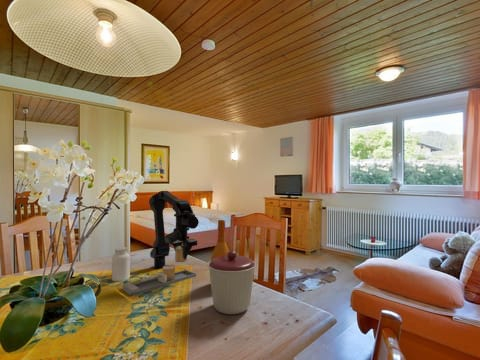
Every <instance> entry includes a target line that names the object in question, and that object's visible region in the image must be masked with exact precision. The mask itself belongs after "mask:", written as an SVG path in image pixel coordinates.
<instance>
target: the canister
mask: <svg viewBox="0 0 480 360" xmlns="http://www.w3.org/2000/svg"><path fill="white" fill-rule="evenodd" d="M256 266H257V263H256V262H255V261H254V260H253V259H251V258H249V257H247V256H243V255H238V254H237V252H236V251H235V250H229V252H228V253H227V256H220V257H217V258H214V259H213V260H211V259H210V261H208V262H207V267H208V269H209V278H210V280H209V281H210V290H211V297H212V303H213V306H214V308H215V309H216V310H217V311H218V312H219V313H221V314H224V315H238V314H241V313H244V312H245V311H247V309H248V308H249V306H250V304H251V298H252V290H253V284H254V283H253V282H254V274H255V268H256Z"/></svg>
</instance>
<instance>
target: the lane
mask: <svg viewBox="0 0 480 360" xmlns="http://www.w3.org/2000/svg"><path fill="white" fill-rule="evenodd" d="M195 277H197V273H196V272H195V271H193V270H189V269H187V268H186V269H183V270H179V271H175V280H171V281H168V282H165V283H162V282H160V281H158V278H155V279H152V280H148V281H144V282H141V283H140V281H139V282H134V283H132V282H130V281H129V282H124V283H122V291H124V292H125V293H127V294H128V295H129V296H132V297H134V296H136V295H137V296H138V295H141V294H143V293H145V292H150V291H152V290H157V289H160V288H163V287H166V286H169V285H173V284H176V283H178V282H182V281H185V280H189V279H192V278H195Z"/></svg>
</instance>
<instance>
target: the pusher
mask: <svg viewBox="0 0 480 360" xmlns="http://www.w3.org/2000/svg"><path fill="white" fill-rule="evenodd" d="M155 278H158V281H160V282H162V283H165V282H167V275H165V274H163V273H162V272H161V271H158V272H157V275H154V276H150V277H147V278H143V279H140V280H139V282H140V283H141V282H144V281H148V280H152V279H155Z"/></svg>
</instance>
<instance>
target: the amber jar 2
mask: <svg viewBox="0 0 480 360" xmlns="http://www.w3.org/2000/svg"><path fill="white" fill-rule="evenodd" d="M174 252H175V254H174V255H175V256H174V257H175V260H174V261H175V262H176V263H185V262H187V260H188V257H187V258H186V259H184V258H183V249H182V248H181V247H180V246H177V247H176V248H175V249H174Z"/></svg>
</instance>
